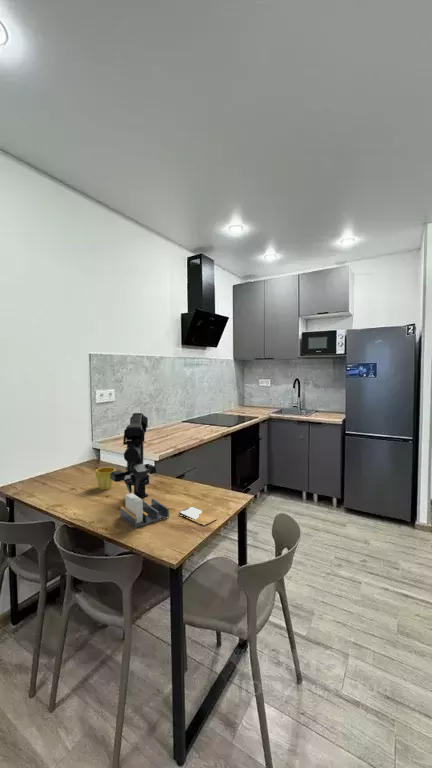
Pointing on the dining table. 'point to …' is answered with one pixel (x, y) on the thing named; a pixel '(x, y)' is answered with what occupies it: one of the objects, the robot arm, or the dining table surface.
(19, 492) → the dining table surface
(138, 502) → the panel
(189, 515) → the phone case
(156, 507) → the rack
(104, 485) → the plant pot
